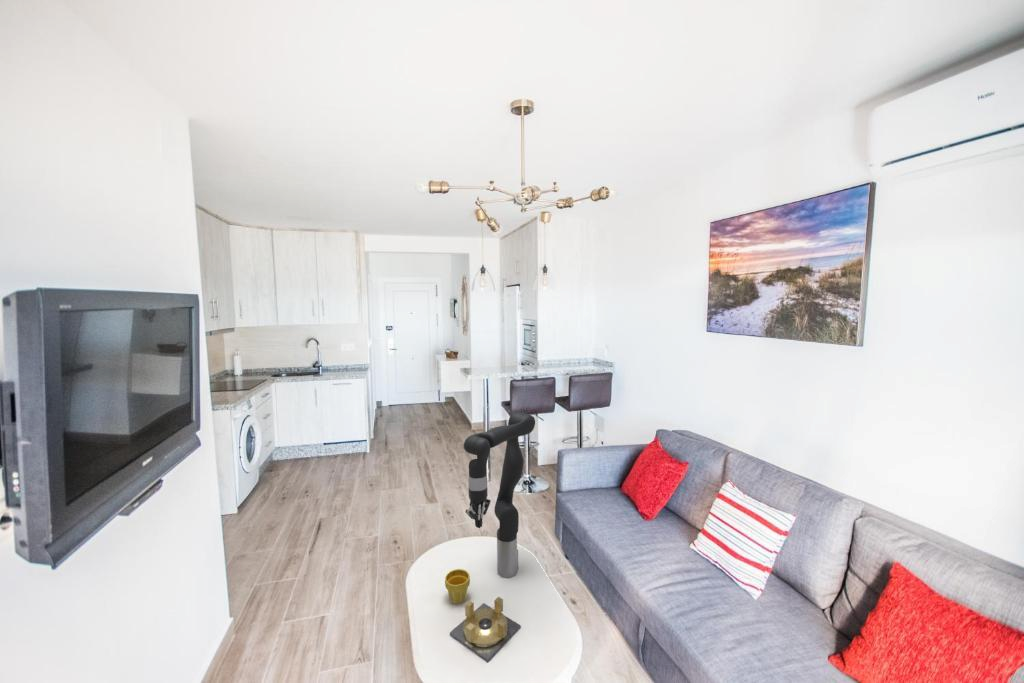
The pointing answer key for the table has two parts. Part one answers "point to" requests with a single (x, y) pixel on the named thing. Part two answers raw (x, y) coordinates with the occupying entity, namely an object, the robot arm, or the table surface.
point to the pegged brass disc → (485, 624)
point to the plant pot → (457, 585)
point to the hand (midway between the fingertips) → (478, 526)
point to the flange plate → (489, 651)
